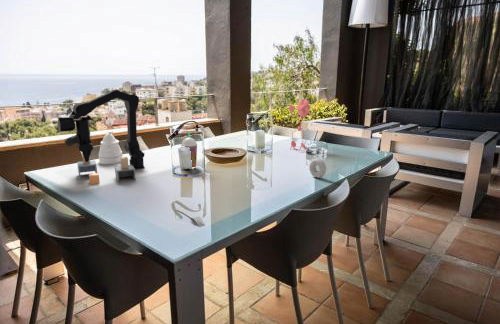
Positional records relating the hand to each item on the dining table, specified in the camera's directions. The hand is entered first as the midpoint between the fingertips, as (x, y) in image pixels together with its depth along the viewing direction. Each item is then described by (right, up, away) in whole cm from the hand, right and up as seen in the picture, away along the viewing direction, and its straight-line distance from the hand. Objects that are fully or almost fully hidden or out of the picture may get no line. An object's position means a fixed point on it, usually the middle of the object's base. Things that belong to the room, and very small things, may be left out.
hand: (86, 161), depth 169 cm
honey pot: (0, 0, +30) cm, 31 cm away
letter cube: (+8, -10, -8) cm, 15 cm away
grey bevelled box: (+20, -9, -2) cm, 22 cm away
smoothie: (+49, -4, +16) cm, 52 cm away
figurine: (+117, +8, +67) cm, 135 cm away
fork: (+59, -21, -46) cm, 78 cm away
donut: (+115, -9, +3) cm, 116 cm away
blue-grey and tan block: (0, -6, +2) cm, 7 cm away
